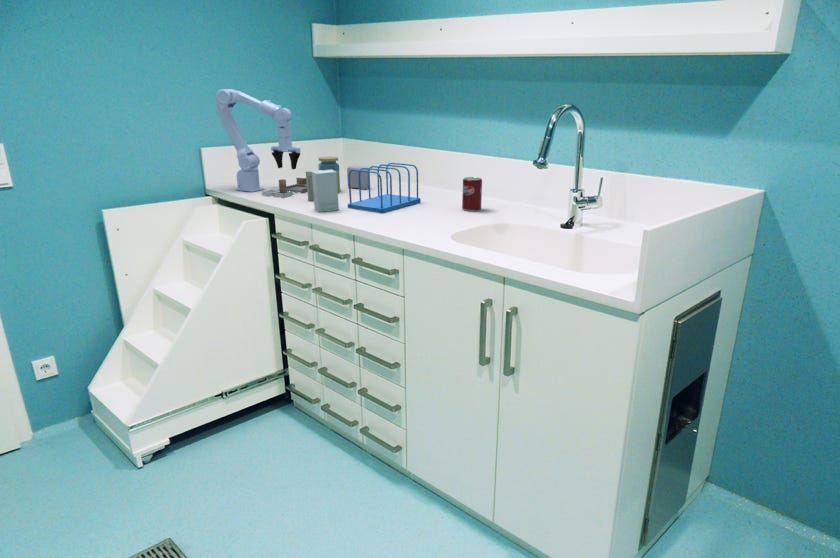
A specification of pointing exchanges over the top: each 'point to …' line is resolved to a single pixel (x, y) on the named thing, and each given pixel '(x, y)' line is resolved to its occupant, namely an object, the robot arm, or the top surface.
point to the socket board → (277, 193)
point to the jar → (330, 166)
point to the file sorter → (387, 200)
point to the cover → (301, 181)
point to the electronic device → (355, 177)
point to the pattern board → (296, 188)
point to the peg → (282, 186)
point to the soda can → (472, 194)
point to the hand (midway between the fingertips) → (287, 168)
